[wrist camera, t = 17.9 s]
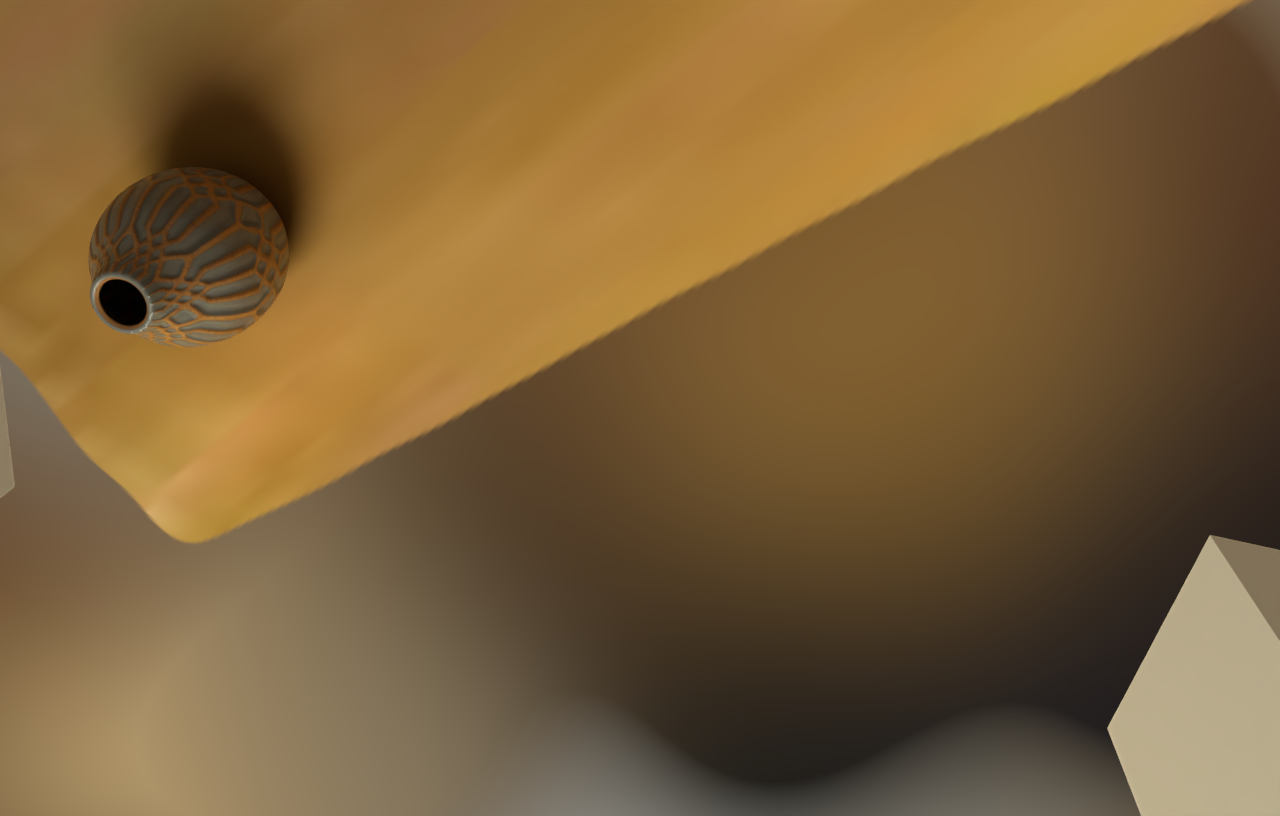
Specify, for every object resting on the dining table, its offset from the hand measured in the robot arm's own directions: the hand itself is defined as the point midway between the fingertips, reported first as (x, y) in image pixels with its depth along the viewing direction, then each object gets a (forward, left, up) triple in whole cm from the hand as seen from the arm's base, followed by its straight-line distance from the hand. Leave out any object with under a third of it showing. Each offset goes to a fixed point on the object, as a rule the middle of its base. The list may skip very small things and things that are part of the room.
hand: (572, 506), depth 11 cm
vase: (-19, -11, -32) cm, 39 cm away
